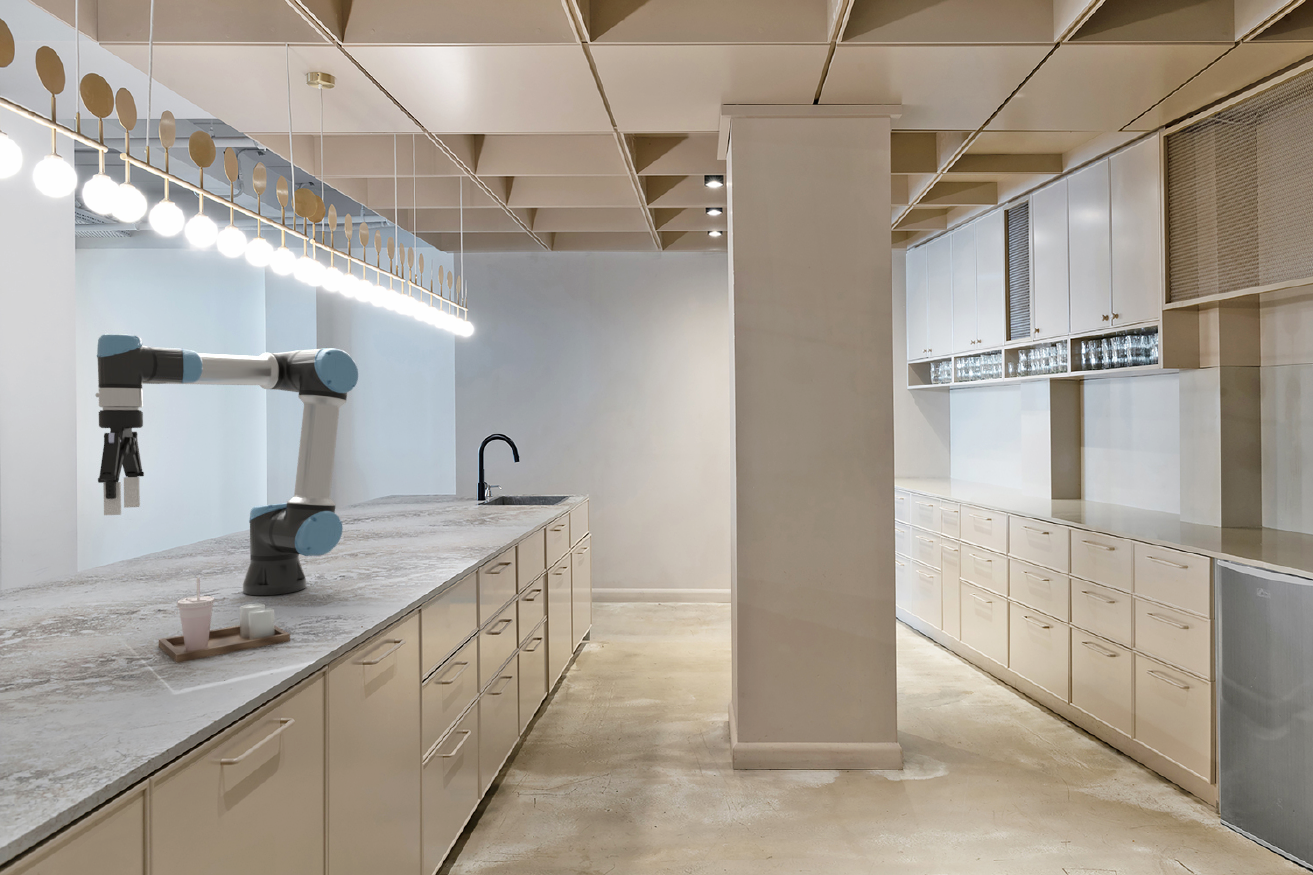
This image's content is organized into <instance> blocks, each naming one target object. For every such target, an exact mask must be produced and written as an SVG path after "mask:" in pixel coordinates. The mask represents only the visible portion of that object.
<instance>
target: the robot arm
mask: <svg viewBox="0 0 1313 875" xmlns="http://www.w3.org/2000/svg"><path fill="white" fill-rule="evenodd" d="M97 341H98V342H97V353H96V358H97V375H98V378H97V379H98V380H97V381H98V386H97V387H98V388H97V389H98V392H96V393H95V394H94V395H95V397H96V398H98V407H100V408H102V410H101V409H100V410H99V411H98V427H99V428H101V429H110V432H104V434H103V447H102V448H103V449H102V454H101V455H102V457H101V463H100V471H99V476H98V478H97V482H98V483H99V484H100V483H101V484H102V483H103V484H102V485H103V515H104V516H119V515H120V516H121V515H122V493H121V492H122V489H121V488H122V487H121V486H122V484H121V482H119V481H120V476H121V473H122V472H121V471H122V468H123V472H124V475H125V476H124V477H123V508H125V509H126V508H140V507H141V502H140V501H141V500H140V499H141V498H140V497H141V495H140V494H141V493H140V477H144V476H145V472H144V471H143V468H142V461H141V460H142V459H141V454H140V448H139V442H138V432H137V431H133V430H132V429H140V428H141V429H142V428H143V427H144V413H143V412H142V411H143V410H140V409H141V408H143V407H144V401H143V400H144V396H143V395H144V394H143V385H144V384H145V385H146V384H147V385H148V384H149V385H150V384H151V385H160V384H162V385H163V384H165V385H168V384H169V385H170V384H171V385H217V386H219V385H221V386H224V385H225V386H229V385H230V386H260V387H261V388H262V389H263V390H274V391H275V390H278V391H285V392H286V391H287V392H292V393H298V399H300V401H302V403H303V409H302V410H303V412H302V420H301V428H300V439H299V447H298V448H299V449H298V456H297V466H296V475H295V482H294V483H295V484H294V494H293V496H292V497H291V498H290V499H288V500H287V501H286V502H284V503H275V504H274V503H273V504H266V505H265V504H264V505H256V506H254V507H252V509H251V510H250V514H249V520H248V522H249V537H250V538H249V542H250V543H249V551H250V553H249V554H250V558H249V559H250V561H249V565H248V569H247V571H246V574H245V577H244V579H243V584H242V593H243V594H245V595H251V596H275V595H283V594H290V593H294V592H295V593H296V592H299V591H302V590H304V589H305V588H307V578H306V575H305V572H304V569H303V567H302V565H301V562H300V558H299V557H300V556H305V557H319V556H320V557H321V556H324V555H327V554H328V553H330V552H331V551H332V550H333V549H335V548H336V547H337V545H338V544H339V542H340V541H341V538H342V535H343V528H344V527H343V522H342V520H341V519H340V516H339V515H337V514H336V503H335V501H333V500H332V498H331V492H332V481H333V472H334V463H335V452H336V442H337V434H338V433H337V432H338V424H339V415H340V408H341V407H342V406H343V405H345V404H346V403H347V397H348V393H349V392H351V391H352V390H353V389H354V388H355V387H356V386H357V383H358V380H359V370H358V366H357V364H356V361H355V360H354V359H353V358H352V356H351V355H350V354H349V353H348V352H346V351H344V350H343V349H339V348H330V347H328V348H327V347H323V348H315V349H314V348H313V349H300V350H299V349H298V350H293V351H285V352H273V353H272V352H264V353H262V354H260V355H259V356H258V355H257V356H256V355H238V354H219V353H218V354H215V353H198V352H197V351H196V350H192V349H184V348H174V347H173V348H172V347H153V346H148V345H147V346H146V345H143V342H142V338H141V337H140V336H138V335H133V334H125V333H105V334H101V335H100V336H99V337H98V340H97Z"/></svg>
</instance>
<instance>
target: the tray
mask: <svg viewBox="0 0 1313 875" xmlns="http://www.w3.org/2000/svg"><path fill="white" fill-rule="evenodd" d="M274 628H275V635H274V636H269V637H263V638H258V639H253V640H249V638H243V637H240V624H239V625H234V626H228V627H223V628H217V629H210V632H209V640H208V648H204V649H199V650H193V651H186V649H185V642H184V636H183V634H181V635H176V636H170V637H163V638H158V647H159V648H160V649H161V650H162V651H163V652H164V653H165V654H166V655H168V656H169V657H170V659H172V660H173V661H174V662H175V663H183V662H188V661H194V660H198V659H204V658H209V657H214V656H220V655H223V654H225V655H226V654H230V653H234V652H240V651H244V650H251V649H255V648H256V649H257V648H260V647H266V646H271V645H275V644H281V643H282V644H283V643H286V642H290V641H291V634H290V633H289V632H287V631H285V629H284V630H283V629H282V628H280V627H278V626H277V625H275V624H274Z"/></svg>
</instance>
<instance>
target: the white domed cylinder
mask: <svg viewBox="0 0 1313 875" xmlns="http://www.w3.org/2000/svg"><path fill="white" fill-rule="evenodd" d="M274 625H275V610H274V608H271V607H269V608H268V607H267V608H266V607H265V608H264V609H256V610H252V611H250V612H249V640H253V639H258V638H263V637H269V636H274V635H275V628H274Z"/></svg>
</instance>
